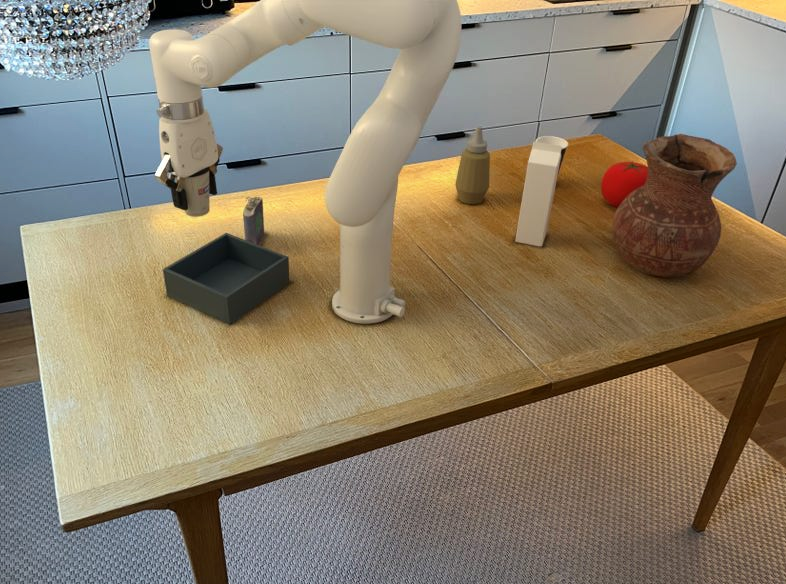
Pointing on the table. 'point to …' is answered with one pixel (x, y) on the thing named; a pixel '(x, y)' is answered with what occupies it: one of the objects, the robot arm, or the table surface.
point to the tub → (227, 277)
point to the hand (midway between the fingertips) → (195, 199)
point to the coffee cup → (197, 193)
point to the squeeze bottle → (473, 170)
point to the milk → (538, 193)
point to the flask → (254, 220)
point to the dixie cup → (555, 141)
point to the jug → (673, 207)
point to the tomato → (622, 181)
